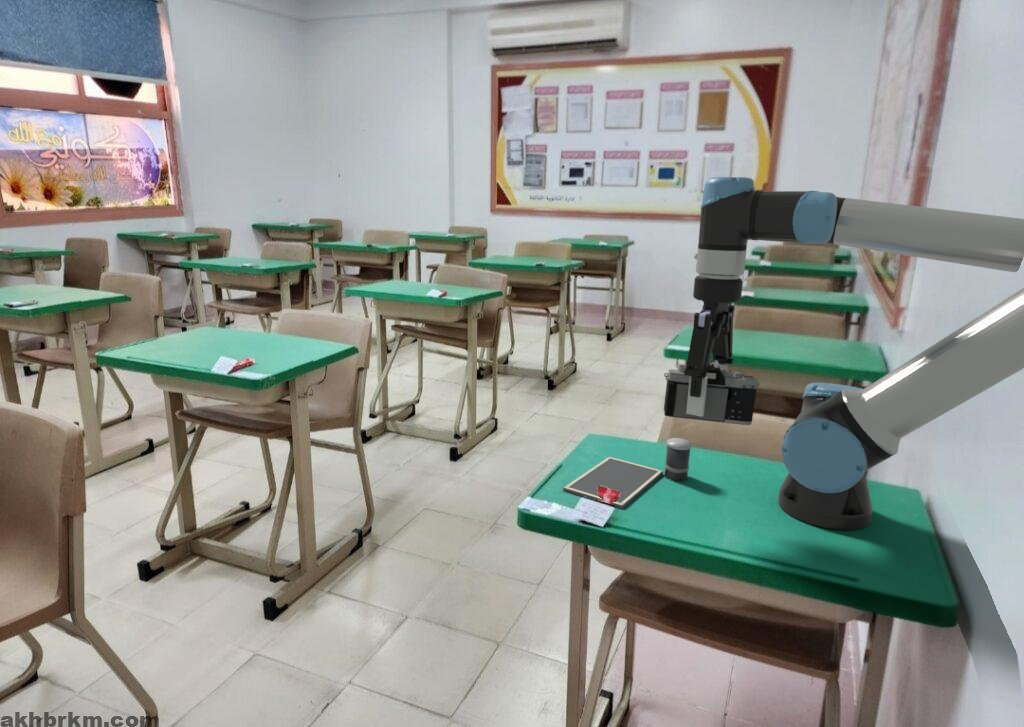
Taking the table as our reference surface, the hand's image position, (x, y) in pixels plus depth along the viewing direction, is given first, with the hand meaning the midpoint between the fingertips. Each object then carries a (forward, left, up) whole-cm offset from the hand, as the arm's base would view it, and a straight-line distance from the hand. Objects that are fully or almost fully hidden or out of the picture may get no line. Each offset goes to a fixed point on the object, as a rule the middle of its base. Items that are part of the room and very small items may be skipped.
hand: (705, 406), depth 111 cm
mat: (+16, -1, -19) cm, 25 cm away
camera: (0, 0, -2) cm, 2 cm away
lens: (+8, -11, -19) cm, 24 cm away
